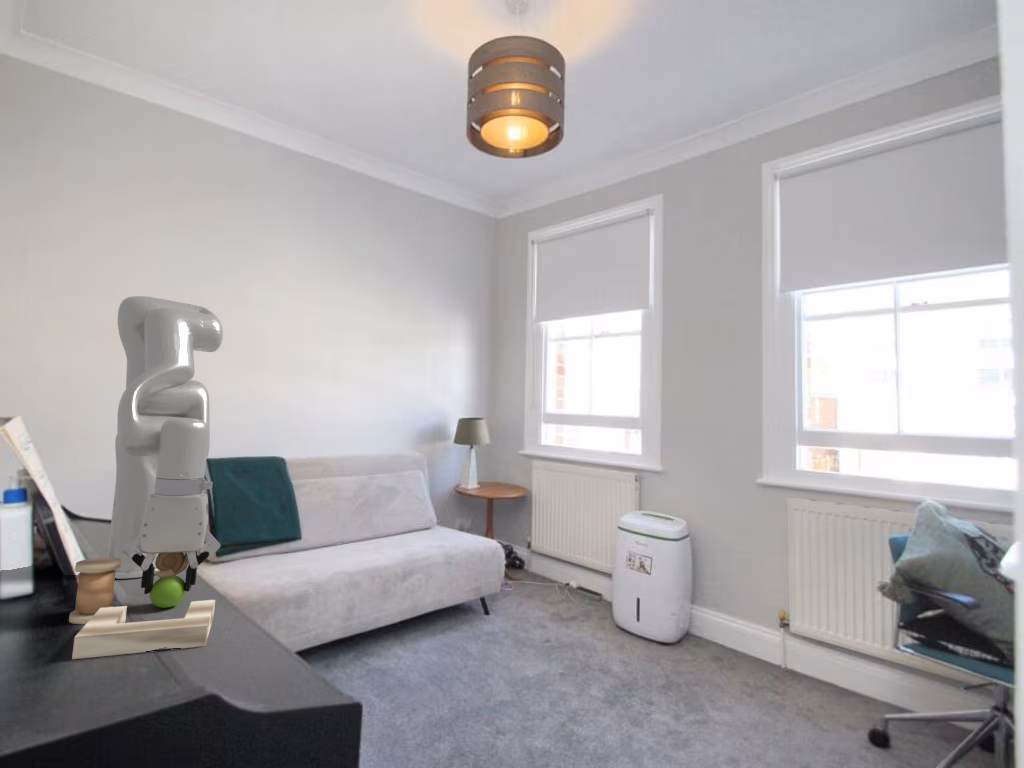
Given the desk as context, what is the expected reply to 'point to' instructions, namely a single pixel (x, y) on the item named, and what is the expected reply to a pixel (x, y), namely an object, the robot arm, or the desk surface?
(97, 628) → the notched board
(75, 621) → the bobbin
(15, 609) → the desk surface
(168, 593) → the snail figurine
